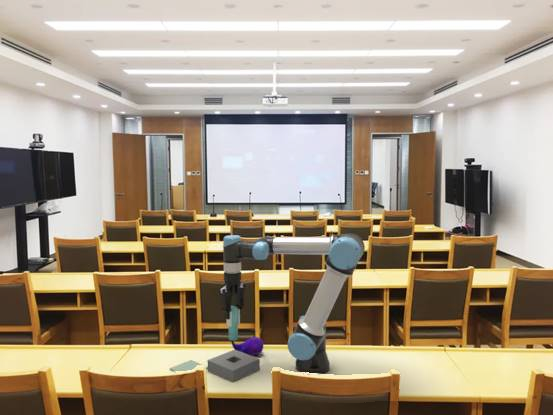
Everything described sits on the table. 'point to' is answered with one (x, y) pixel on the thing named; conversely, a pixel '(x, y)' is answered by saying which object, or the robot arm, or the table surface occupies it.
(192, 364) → the mat
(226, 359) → the socket
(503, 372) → the table surface
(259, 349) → the toy
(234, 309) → the plug
